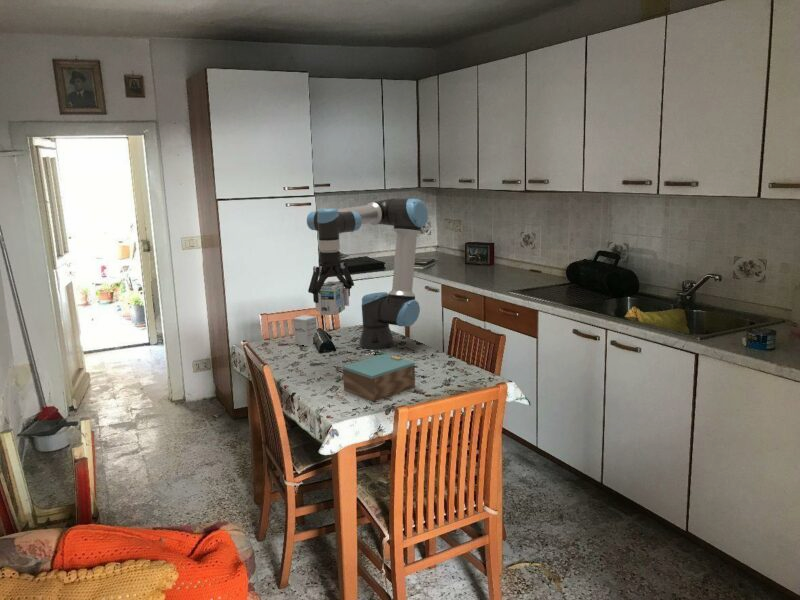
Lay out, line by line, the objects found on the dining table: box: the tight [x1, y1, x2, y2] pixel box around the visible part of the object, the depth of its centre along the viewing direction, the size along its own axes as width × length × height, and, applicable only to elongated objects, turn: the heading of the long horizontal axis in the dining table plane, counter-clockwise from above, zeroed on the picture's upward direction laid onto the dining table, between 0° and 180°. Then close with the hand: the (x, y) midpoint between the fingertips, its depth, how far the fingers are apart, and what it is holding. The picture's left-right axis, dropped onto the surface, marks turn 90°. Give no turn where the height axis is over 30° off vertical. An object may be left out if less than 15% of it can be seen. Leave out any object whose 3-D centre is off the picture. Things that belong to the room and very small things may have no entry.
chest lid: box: [342, 353, 415, 379], centre depth 231 cm, size 20×16×2 cm
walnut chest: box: [342, 365, 416, 402], centre depth 232 cm, size 20×16×8 cm
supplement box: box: [293, 314, 318, 347], centre depth 291 cm, size 7×7×13 cm
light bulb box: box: [319, 281, 346, 316], centre depth 242 cm, size 11×7×11 cm, turn 167°
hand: (332, 308), depth 242 cm, fingers closed on light bulb box, 12 cm apart
